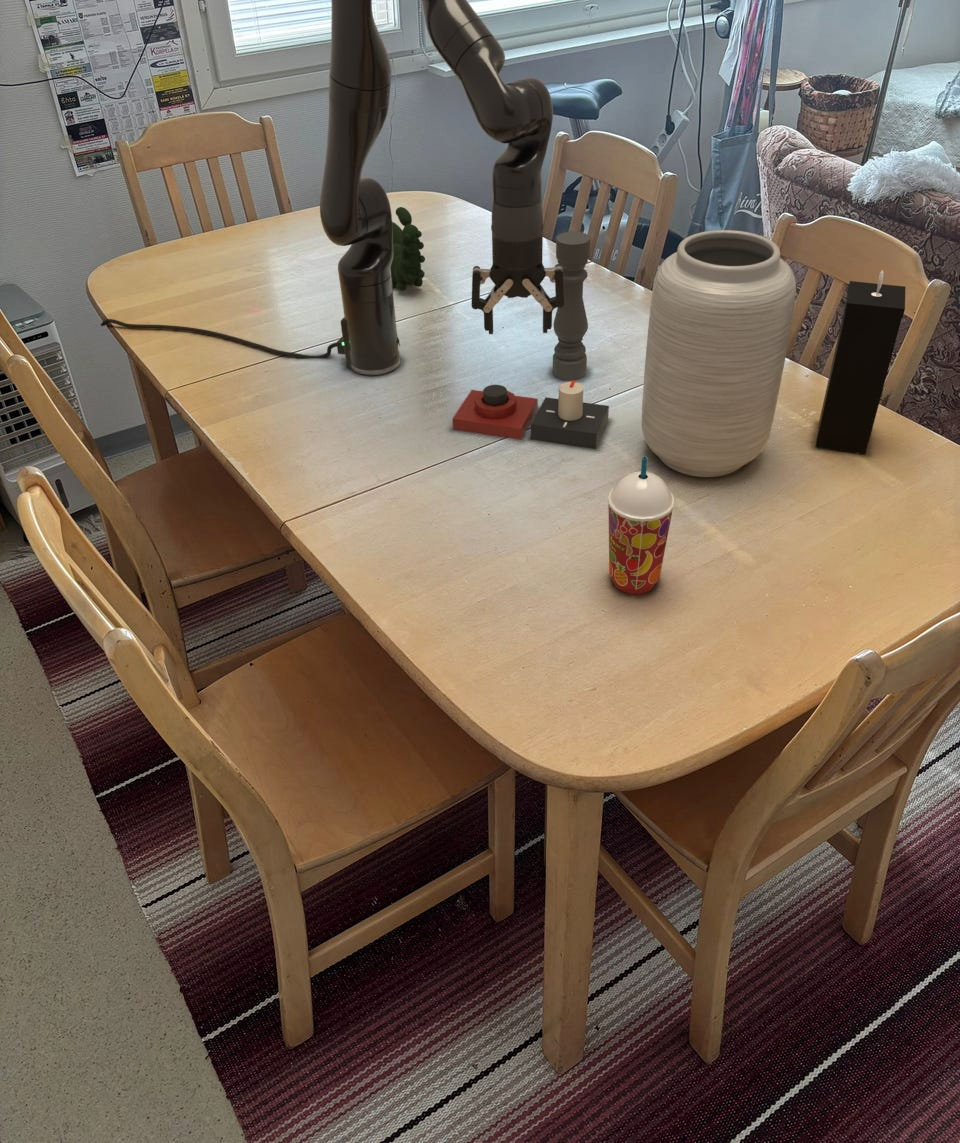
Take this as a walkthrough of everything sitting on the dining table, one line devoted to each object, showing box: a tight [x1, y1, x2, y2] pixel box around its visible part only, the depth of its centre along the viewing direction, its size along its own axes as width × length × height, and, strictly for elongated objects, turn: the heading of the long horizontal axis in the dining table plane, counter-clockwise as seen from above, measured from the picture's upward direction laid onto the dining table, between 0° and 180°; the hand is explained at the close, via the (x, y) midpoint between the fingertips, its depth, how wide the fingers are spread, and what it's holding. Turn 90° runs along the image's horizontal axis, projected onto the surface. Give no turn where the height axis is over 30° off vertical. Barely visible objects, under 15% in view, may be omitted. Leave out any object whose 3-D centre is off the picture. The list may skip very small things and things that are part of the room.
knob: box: [557, 380, 584, 421], centre depth 158 cm, size 4×4×5 cm
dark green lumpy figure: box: [391, 206, 426, 292], centre depth 205 cm, size 9×19×25 cm
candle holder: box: [552, 231, 591, 382], centre depth 168 cm, size 6×6×25 cm
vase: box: [641, 229, 797, 478], centre depth 144 cm, size 20×20×34 cm
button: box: [482, 384, 508, 406], centre depth 162 cm, size 4×4×2 cm
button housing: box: [452, 389, 539, 441], centre depth 163 cm, size 12×10×4 cm
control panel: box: [530, 396, 610, 450], centre depth 160 cm, size 11×9×3 cm
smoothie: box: [607, 456, 676, 595], centre depth 125 cm, size 8×8×20 cm
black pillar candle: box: [814, 270, 906, 455], centre depth 147 cm, size 8×8×28 cm
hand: (517, 331), depth 152 cm, fingers open, 8 cm apart
